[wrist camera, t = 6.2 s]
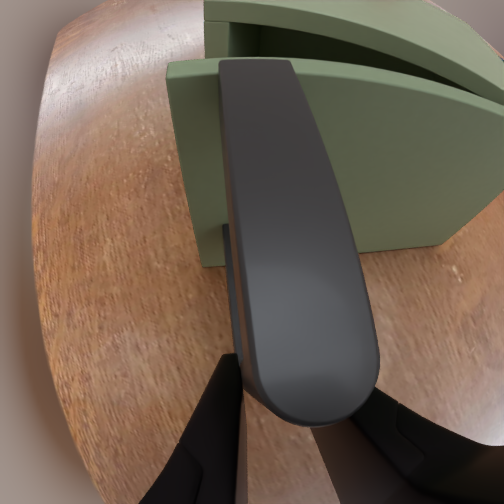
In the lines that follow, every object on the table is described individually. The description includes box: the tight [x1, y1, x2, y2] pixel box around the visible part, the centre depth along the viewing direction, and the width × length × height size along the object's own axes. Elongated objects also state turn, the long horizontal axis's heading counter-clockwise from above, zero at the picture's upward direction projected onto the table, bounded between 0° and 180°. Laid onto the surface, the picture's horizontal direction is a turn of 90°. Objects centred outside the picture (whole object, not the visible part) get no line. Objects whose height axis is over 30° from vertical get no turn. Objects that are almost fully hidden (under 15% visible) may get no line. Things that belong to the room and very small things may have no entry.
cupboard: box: [204, 0, 504, 106], centre depth 16 cm, size 12×16×12 cm
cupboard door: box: [166, 57, 504, 427], centre depth 11 cm, size 8×16×12 cm, turn 97°
